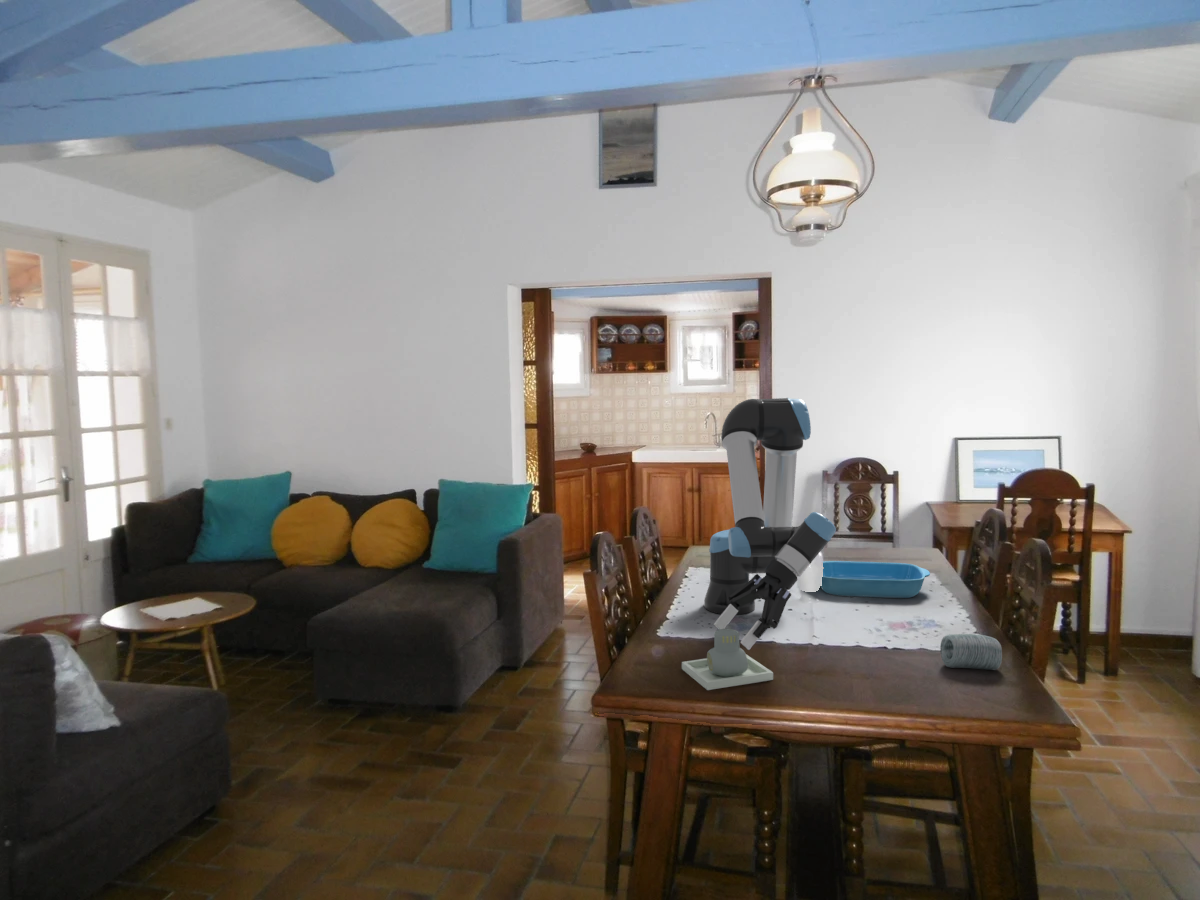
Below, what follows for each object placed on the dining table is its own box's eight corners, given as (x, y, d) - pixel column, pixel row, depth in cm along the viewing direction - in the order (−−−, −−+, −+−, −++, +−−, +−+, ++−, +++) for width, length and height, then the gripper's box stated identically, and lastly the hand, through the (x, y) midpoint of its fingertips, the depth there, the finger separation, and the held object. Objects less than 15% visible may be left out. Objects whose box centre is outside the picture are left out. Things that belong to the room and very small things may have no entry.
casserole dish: (810, 597, 259) (810, 575, 258) (808, 579, 280) (808, 558, 280) (935, 603, 251) (935, 580, 250) (923, 583, 272) (924, 562, 271)
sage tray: (681, 671, 201) (681, 661, 200) (744, 662, 206) (744, 652, 206) (707, 693, 187) (707, 682, 187) (773, 682, 193) (773, 672, 192)
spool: (938, 660, 194) (949, 619, 197) (933, 665, 203) (943, 626, 205) (1000, 680, 190) (1010, 639, 192) (992, 684, 198) (1001, 644, 201)
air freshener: (705, 665, 202) (705, 625, 201) (739, 663, 202) (738, 624, 201) (714, 682, 191) (714, 640, 190) (749, 680, 191) (749, 639, 190)
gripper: (825, 591, 188) (767, 664, 185) (769, 565, 211) (717, 629, 208) (805, 571, 186) (746, 644, 183) (750, 547, 209) (697, 612, 206)
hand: (730, 636), depth 195 cm, fingers open, 13 cm apart
